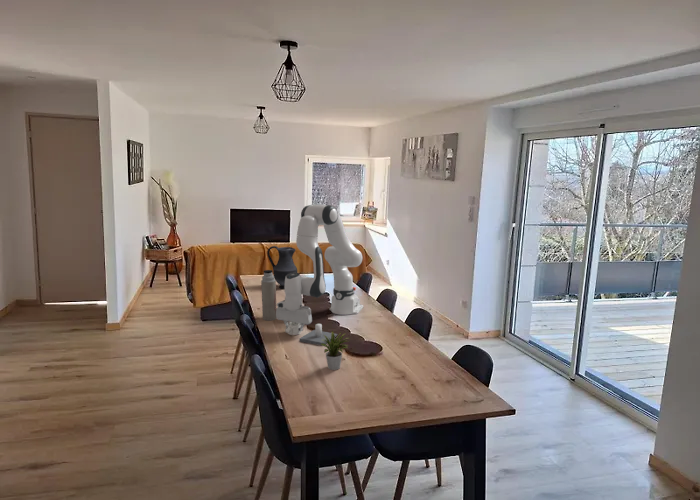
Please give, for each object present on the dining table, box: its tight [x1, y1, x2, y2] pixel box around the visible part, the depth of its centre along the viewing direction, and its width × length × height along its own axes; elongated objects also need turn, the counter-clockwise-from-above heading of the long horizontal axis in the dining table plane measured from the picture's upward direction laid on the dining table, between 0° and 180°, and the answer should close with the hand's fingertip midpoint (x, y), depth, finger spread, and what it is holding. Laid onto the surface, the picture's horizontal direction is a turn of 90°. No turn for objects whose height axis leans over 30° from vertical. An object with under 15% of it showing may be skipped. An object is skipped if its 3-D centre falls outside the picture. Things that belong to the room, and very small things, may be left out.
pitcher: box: [266, 245, 298, 290], centre depth 343 cm, size 17×21×30 cm
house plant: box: [320, 330, 349, 371], centre depth 208 cm, size 14×14×16 cm
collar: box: [284, 322, 302, 336], centre depth 251 cm, size 10×6×5 cm, turn 153°
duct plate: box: [298, 323, 339, 347], centre depth 244 cm, size 14×14×8 cm
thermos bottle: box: [260, 269, 277, 321], centre depth 275 cm, size 8×8×28 cm
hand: (294, 329), depth 253 cm, fingers closed on collar, 6 cm apart
